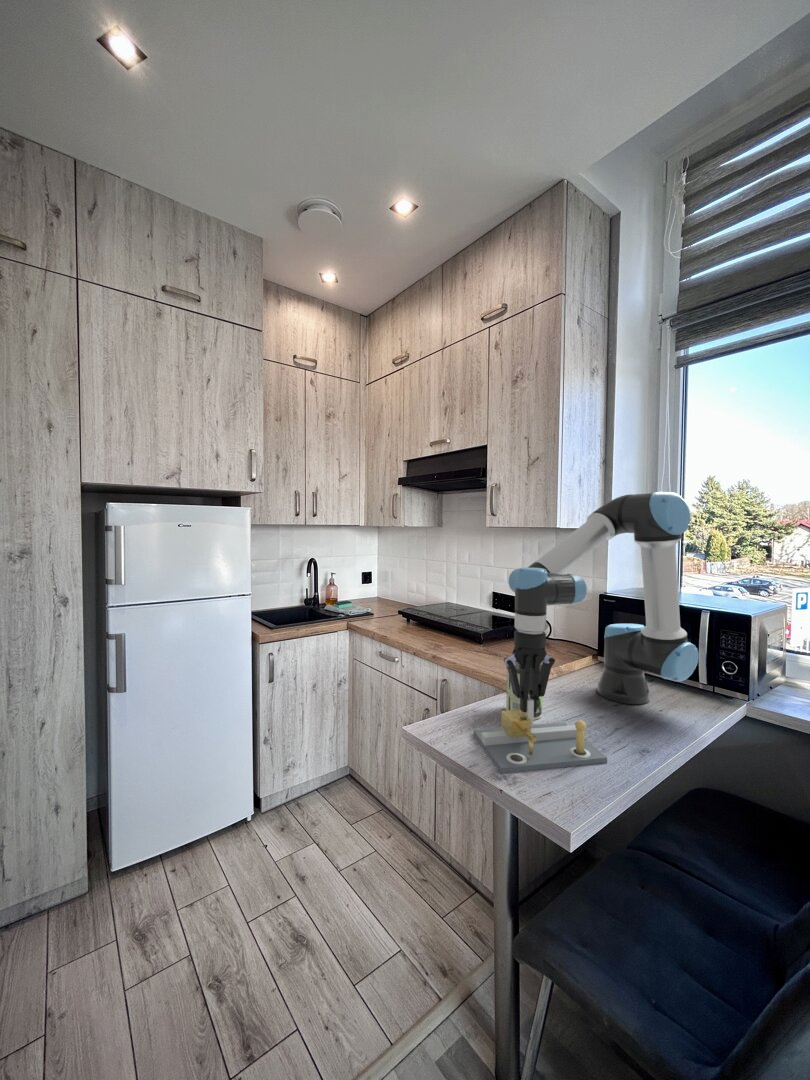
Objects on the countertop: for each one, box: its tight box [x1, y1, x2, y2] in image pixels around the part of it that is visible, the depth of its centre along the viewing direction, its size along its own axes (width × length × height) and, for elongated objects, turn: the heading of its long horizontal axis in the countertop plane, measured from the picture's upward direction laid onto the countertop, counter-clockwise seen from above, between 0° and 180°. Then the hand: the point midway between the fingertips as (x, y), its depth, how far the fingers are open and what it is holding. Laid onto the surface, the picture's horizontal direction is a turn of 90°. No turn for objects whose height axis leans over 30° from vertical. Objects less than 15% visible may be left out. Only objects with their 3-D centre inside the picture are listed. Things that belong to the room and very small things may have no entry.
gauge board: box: [472, 719, 608, 774], centre depth 106 cm, size 26×18×9 cm
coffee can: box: [505, 660, 543, 721], centre depth 125 cm, size 10×10×14 cm
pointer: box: [500, 709, 537, 755], centre depth 104 cm, size 5×12×6 cm, turn 11°
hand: (527, 724), depth 107 cm, fingers closed
